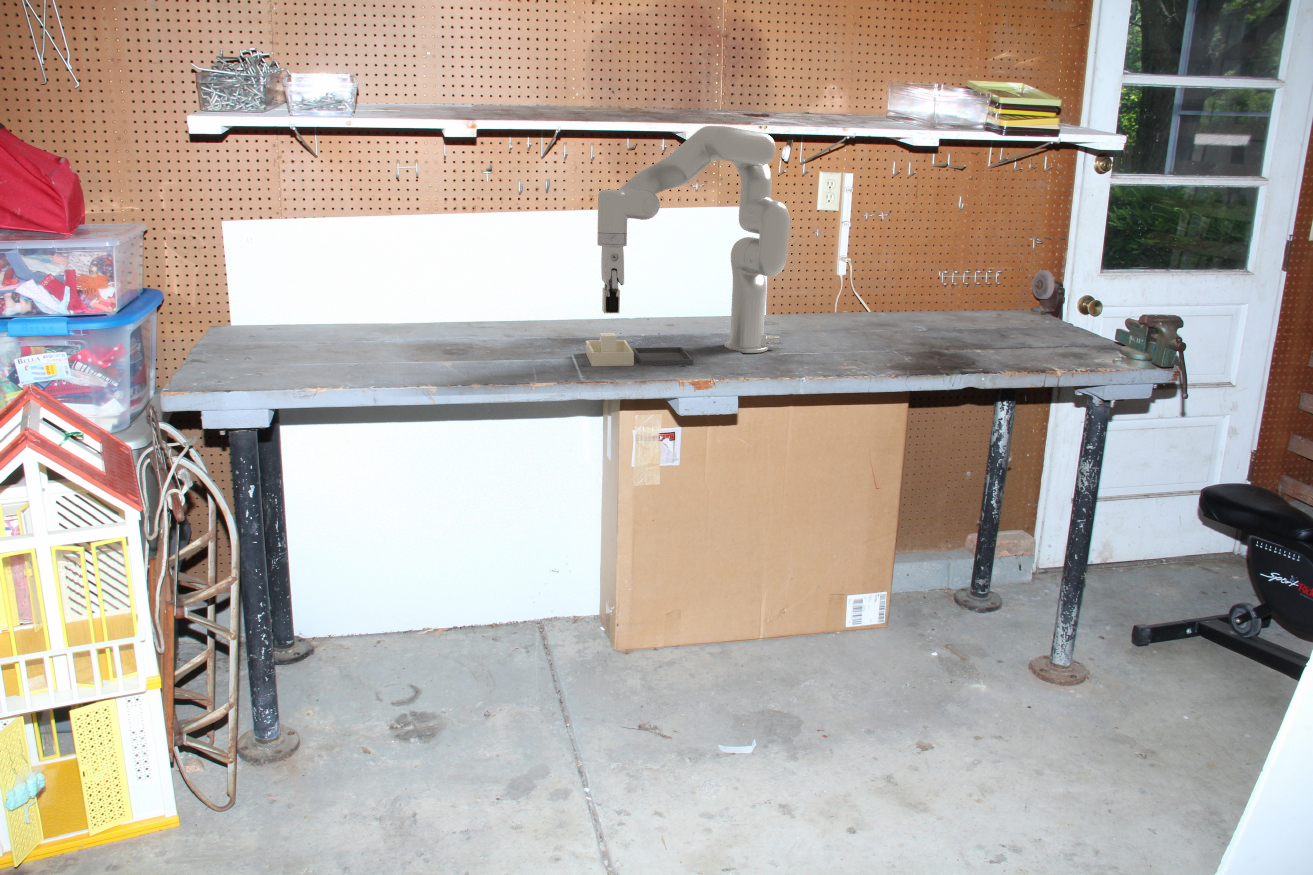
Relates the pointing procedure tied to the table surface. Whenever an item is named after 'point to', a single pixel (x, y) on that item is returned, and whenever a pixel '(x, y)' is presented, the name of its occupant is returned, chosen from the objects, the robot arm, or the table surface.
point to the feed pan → (662, 356)
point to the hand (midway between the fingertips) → (610, 309)
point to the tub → (610, 354)
